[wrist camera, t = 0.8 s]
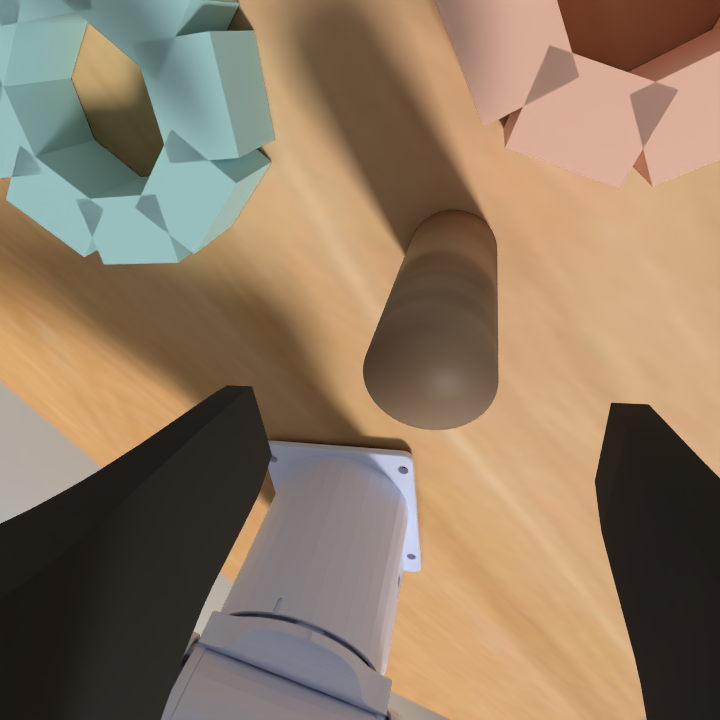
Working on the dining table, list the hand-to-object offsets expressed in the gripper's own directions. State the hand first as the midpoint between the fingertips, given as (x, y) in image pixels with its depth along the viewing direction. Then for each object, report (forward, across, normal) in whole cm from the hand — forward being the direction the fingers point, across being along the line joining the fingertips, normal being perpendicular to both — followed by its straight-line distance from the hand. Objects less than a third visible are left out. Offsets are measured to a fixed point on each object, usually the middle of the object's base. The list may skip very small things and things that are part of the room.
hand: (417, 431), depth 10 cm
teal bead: (+10, +11, -6) cm, 16 cm away
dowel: (+10, 0, 0) cm, 10 cm away
